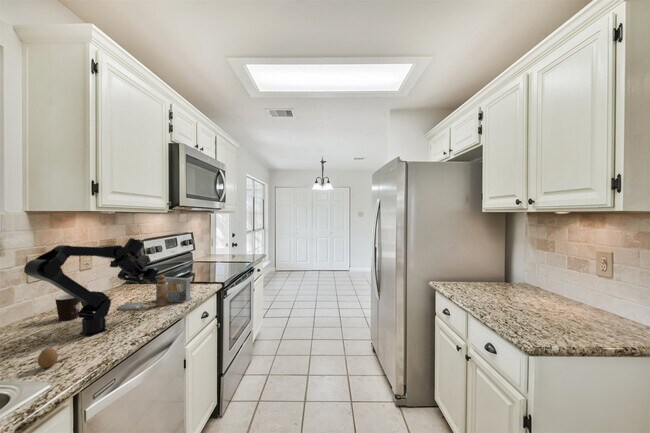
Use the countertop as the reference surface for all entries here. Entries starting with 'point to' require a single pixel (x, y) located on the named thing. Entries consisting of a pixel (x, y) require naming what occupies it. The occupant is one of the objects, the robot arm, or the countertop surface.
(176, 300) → the switch panel
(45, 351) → the egg
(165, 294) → the pepper mill
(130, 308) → the coaster
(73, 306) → the coffee mug
